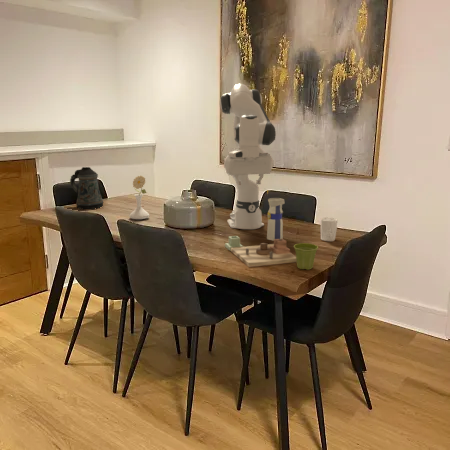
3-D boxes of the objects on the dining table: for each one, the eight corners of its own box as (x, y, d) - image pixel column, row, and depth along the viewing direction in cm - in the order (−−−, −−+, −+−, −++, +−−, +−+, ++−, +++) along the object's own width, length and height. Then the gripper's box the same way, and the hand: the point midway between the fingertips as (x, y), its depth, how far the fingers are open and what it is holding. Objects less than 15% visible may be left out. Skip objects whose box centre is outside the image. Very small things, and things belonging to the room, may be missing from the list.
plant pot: (305, 273, 175) (306, 251, 172) (287, 266, 182) (288, 245, 180) (321, 268, 180) (323, 247, 178) (304, 262, 187) (305, 241, 185)
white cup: (338, 238, 222) (339, 218, 219) (333, 242, 215) (334, 222, 213) (322, 236, 226) (323, 216, 223) (317, 240, 219) (318, 219, 217)
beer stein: (103, 209, 284) (101, 168, 278) (71, 210, 279) (67, 169, 273) (103, 203, 300) (101, 165, 294) (72, 205, 295) (69, 166, 289)
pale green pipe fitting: (225, 246, 208) (225, 236, 206) (238, 245, 210) (238, 234, 208) (229, 250, 202) (229, 239, 201) (243, 249, 204) (243, 238, 203)
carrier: (230, 251, 201) (230, 235, 199) (276, 246, 208) (276, 232, 206) (248, 266, 181) (249, 250, 179) (298, 261, 188) (299, 245, 186)
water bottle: (269, 241, 216) (271, 189, 210) (263, 236, 224) (264, 186, 218) (285, 240, 218) (288, 188, 212) (279, 235, 226) (281, 185, 220)
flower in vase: (125, 218, 260) (123, 174, 254) (142, 215, 268) (141, 172, 262) (137, 222, 251) (135, 177, 245) (155, 219, 258) (153, 175, 252)
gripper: (267, 152, 205) (267, 182, 208) (224, 153, 199) (224, 184, 202) (273, 153, 199) (273, 184, 202) (229, 153, 193) (229, 186, 196)
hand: (248, 184), depth 202 cm, fingers open, 8 cm apart
